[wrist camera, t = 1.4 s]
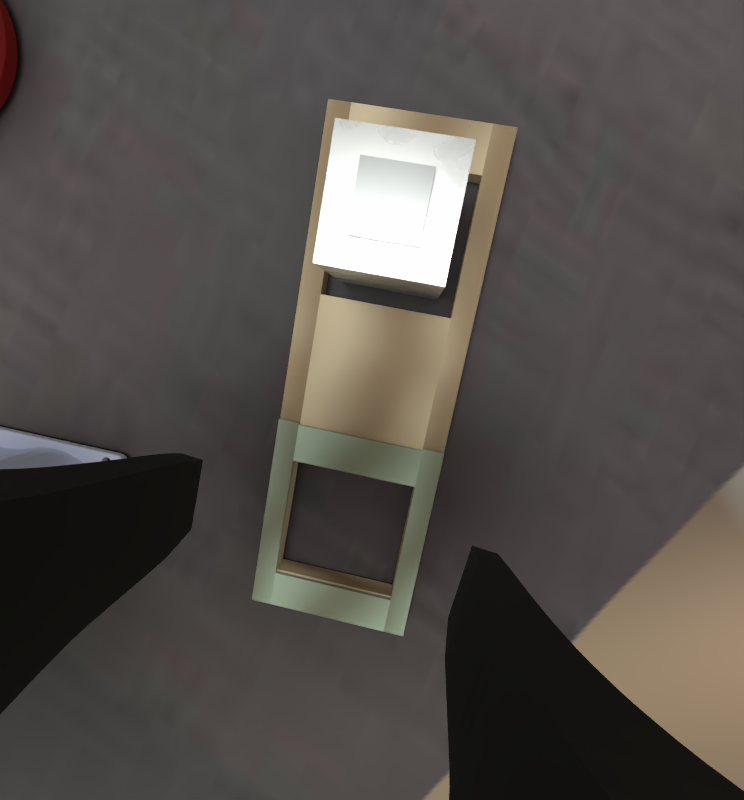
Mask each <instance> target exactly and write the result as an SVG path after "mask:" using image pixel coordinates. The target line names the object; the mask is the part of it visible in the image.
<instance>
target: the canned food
mask: <svg viewBox="0 0 744 800" xmlns="http://www.w3.org/2000/svg"><path fill="white" fill-rule="evenodd" d="M17 60H18V55H17V40H16V35H15V31H14V26H13V23H12V21H11V18H10V15H9V13H8V10H7V8H6V7H5V5H4V3H3V2H2V0H0V109H1V107H2V106H3V105H4V103H5V102H6V100H7V98H8V96H9V94H10V92H11V89H12V86H13V83H14V79H15V76H16V69H17Z"/></svg>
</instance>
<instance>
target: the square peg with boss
mask: <svg viewBox="0 0 744 800" xmlns="http://www.w3.org/2000/svg"><path fill="white" fill-rule="evenodd" d="M475 143H476V139H470V138H463V137H457V136H450V135H444V134H437V133H431V132H424V131H418V130H411V129H405V128H398V127H392V126H385V125H379V124H372V123H366V122H359V121H353V120H346V119H340V118H335V121H334V128H333V134H332V141H331V147H330V154H329V160H328V167H327V173H326V180H325V186H324V193H323V199H322V206H321V212H320V219H319V225H318V232H317V238H316V245H315V251H314V258H313V264H315V265H316V266H318V267H320V268H321V269H323V270H324V271H326V272H327V273H329V274H330V275H332V276H333V277H335V278H337V279H338V280H340V281H341V282H343V283H346V284H352V285H357V286H363V287H368V288H374V289H379V290H385V291H390V292H395V293H401V294H406V295H412V296H417V297H423V298H428V299H434V300H437V299H438V298H439V296H440V294H441V293H442V291H443V289H444V288H445V285H446V280H447V275H448V271H449V266H450V261H451V256H452V252H453V247H454V242H455V237H456V233H457V228H458V223H459V218H460V214H461V209H462V204H463V199H464V195H465V190H466V185H467V180H468V176H469V171H470V166H471V162H472V157H473V152H474V147H475Z"/></svg>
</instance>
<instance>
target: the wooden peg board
mask: <svg viewBox="0 0 744 800" xmlns="http://www.w3.org/2000/svg"><path fill="white" fill-rule="evenodd" d="M335 118H340V119H346V120H353V121H359V122H366V123H372V124H379V125H385V126H392V127H398V128H405V129H411V130H418V131H424V132H431V133H437V134H444V135H450V136H457V137H463V138H470V139H476V143H475V147H474V152H473V157H472V162H471V166H470V171H469V176H468V180H467V182H472V183H478V189H477V194H476V198H475V203H474V207H473V212H472V217H471V221H470V226H469V231H468V235H467V240H466V245H465V249H464V254H463V258H462V263H461V268H460V272H459V277H458V282H457V286H456V291H455V295H454V300H453V305H452V309H451V314H450V318H446V317H441V316H435V315H430V314H425V313H419V312H414V311H408V310H403V309H398V308H392V307H387V306H382V305H376V304H371V303H365V302H360V301H355V300H349V299H344V298H339V297H333V296H328V295H326V289H327V283H328V277H329V273H327V272H326V271H324V270H323V269H321V268H320V267H318V266H316V265H315V264H313V258H314V251H315V245H316V238H317V232H318V225H319V219H320V212H321V206H322V199H323V193H324V186H325V180H326V173H327V167H328V160H329V154H330V147H331V141H332V134H333V128H334V121H335ZM517 128H518V127H511V126H505V125H498V124H492V123H485V122H478V121H472V120H465V119H458V118H452V117H445V116H439V115H432V114H425V113H419V112H412V111H405V110H399V109H392V108H385V107H379V106H372V105H366V104H359V103H352V102H346V101H339V100H332V99H328V104H327V111H326V117H325V124H324V131H323V137H322V144H321V150H320V157H319V164H318V170H317V177H316V184H315V190H314V197H313V204H312V210H311V217H310V224H309V230H308V237H307V244H306V250H305V257H304V264H303V270H302V277H301V283H300V290H299V297H298V303H297V310H296V317H295V323H294V330H293V337H292V343H291V350H290V357H289V363H288V370H287V377H286V383H285V390H284V396H283V403H282V410H281V416H280V419H279V422H278V428H277V435H276V442H275V448H274V455H273V462H272V468H271V475H270V482H269V488H268V495H267V502H266V508H265V515H264V522H263V528H262V535H261V542H260V548H259V555H258V562H257V568H256V575H255V582H254V589H253V595H252V600H256V601H260V602H264V603H268V604H273V605H277V606H281V607H285V608H289V609H293V610H297V611H301V612H305V613H309V614H314V615H318V616H322V617H326V618H330V619H334V620H338V621H342V622H346V623H350V624H355V625H359V626H363V627H367V628H371V629H375V630H379V631H383V632H387V633H391V634H396V635H400V636H403V634H404V629H405V625H406V620H407V616H408V612H409V607H410V603H411V598H412V594H413V590H414V585H415V581H416V576H417V572H418V568H419V563H420V559H421V554H422V550H423V545H424V541H425V537H426V532H427V528H428V523H429V519H430V515H431V510H432V506H433V501H434V497H435V493H436V488H437V484H438V479H439V475H440V470H441V466H442V462H443V457H444V450H445V446H446V442H447V437H448V433H449V428H450V424H451V419H452V415H453V411H454V406H455V402H456V397H457V393H458V389H459V384H460V380H461V375H462V371H463V366H464V362H465V358H466V353H467V349H468V344H469V340H470V336H471V331H472V327H473V322H474V318H475V313H476V309H477V305H478V300H479V296H480V291H481V287H482V283H483V278H484V274H485V269H486V265H487V260H488V256H489V252H490V247H491V243H492V238H493V234H494V229H495V225H496V221H497V216H498V212H499V207H500V203H501V199H502V194H503V190H504V185H505V181H506V176H507V172H508V168H509V163H510V159H511V154H512V150H513V146H514V141H515V137H516V132H517ZM298 462H302V463H306V464H311V465H316V466H320V467H325V468H329V469H334V470H339V471H343V472H348V473H352V474H357V475H362V476H366V477H371V478H375V479H380V480H385V481H389V482H394V483H398V484H403V485H408V486H412V487H413V490H412V495H411V499H410V504H409V509H408V513H407V518H406V523H405V527H404V532H403V536H402V541H401V546H400V550H399V555H398V560H397V564H396V569H395V574H394V578H393V583H392V584H388V583H384V582H380V581H376V580H371V579H367V578H363V577H359V576H354V575H350V574H346V573H342V572H337V571H333V570H329V569H325V568H320V567H316V566H312V565H308V564H303V563H299V562H295V561H291V560H286V559H283V555H284V549H285V543H286V536H287V530H288V524H289V518H290V512H291V505H292V499H293V493H294V487H295V481H296V475H297V468H298Z"/></svg>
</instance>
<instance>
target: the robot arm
mask: <svg viewBox="0 0 744 800" xmlns="http://www.w3.org/2000/svg"><path fill="white" fill-rule="evenodd" d="M107 458H109V459H110V460H107ZM202 462H203V460H201V459H198V458H195V457H191V456H188V455H185V454H182V453H171V454H158V455H148V456H140V457H132V458H127V457H126V456H125V455H124V454H121V453H117V452H113V451H108V450H104V449H99V448H95V447H90V446H86V445H81V444H77V443H72V442H68V441H64V440H59V439H55V438H50V437H46V436H41V435H37V434H32V433H28V432H23V431H19V430H14V429H10V428H5V427H1V426H0V714H1V713H2V712H3V711H4V710H5V709H6V708H7V706H8V705H9V704H10V703H11V702H12V701H13V700H14V699H15V698H16V697H17V696H18V695H19V694H20V693H21V691H22V690H23V689H24V688H25V687H26V686H27V685H28V684H29V683H30V682H31V681H32V680H33V679H34V678H35V677H36V676H37V675H38V674H39V673H40V671H41V670H42V669H43V668H44V667H45V666H46V665H47V664H48V663H49V662H50V661H51V660H52V659H53V658H54V657H55V656H56V655H57V654H58V653H59V652H60V651H61V650H62V649H63V648H64V647H65V646H66V645H67V644H68V643H69V642H70V641H71V640H72V639H73V638H74V637H75V636H76V635H77V634H79V633H80V632H81V631H82V630H83V629H84V628H85V627H86V626H87V625H88V624H89V623H91V622H92V621H93V620H94V619H95V618H96V617H98V616H99V615H100V614H101V613H102V612H104V611H105V610H106V609H107V608H108V607H109V606H111V605H112V604H113V603H114V602H115V601H116V600H118V599H119V598H120V597H121V596H122V595H123V594H125V593H126V592H127V591H128V590H129V589H131V588H132V587H133V586H134V585H135V584H136V583H138V582H139V581H140V580H141V579H142V578H143V577H145V576H146V575H147V574H148V573H149V572H150V571H151V570H153V569H154V568H155V567H156V566H157V565H158V564H159V563H161V562H162V561H163V560H164V559H165V558H166V557H167V556H168V555H169V554H170V553H171V551H172V550H173V549H174V548H175V547H176V546H177V545H178V544H179V543H180V541H181V540H182V539H183V538H184V537H185V536H186V534H187V533H188V532H189V531H190V530H191V527H192V521H193V515H194V509H195V503H196V498H197V492H198V486H199V480H200V474H201V468H202ZM445 670H446V696H447V718H448V741H449V768H450V794H449V800H744V791H743V790H741V789H740V788H738V787H737V786H736V785H735V784H733V783H732V782H731V781H729V780H728V779H727V778H725V777H724V776H722V775H721V774H720V773H719V772H717V771H716V770H714V769H713V768H712V767H710V766H709V765H707V764H706V763H705V762H704V761H702V760H701V759H700V758H699V757H697V756H696V755H695V754H693V753H692V752H691V751H690V750H689V749H687V748H686V747H685V746H683V745H682V744H681V743H680V742H678V741H677V740H676V739H675V738H673V737H672V736H671V735H670V734H669V733H667V732H666V731H665V730H664V729H663V728H662V727H660V726H659V725H658V724H657V723H656V722H655V721H653V720H652V719H651V718H650V717H649V716H647V715H646V714H645V713H644V712H643V711H642V710H640V709H639V708H638V707H637V706H636V705H635V704H633V703H632V702H631V701H630V700H629V699H628V698H627V697H626V696H624V695H623V694H622V693H621V692H620V691H619V690H618V689H617V688H616V687H615V686H614V685H613V684H612V683H611V682H610V681H609V680H607V679H606V678H605V677H604V676H603V675H602V674H601V673H600V672H599V671H598V670H597V669H596V668H595V667H594V666H593V665H592V664H591V663H590V662H589V661H588V660H587V659H586V658H585V657H584V656H583V655H582V654H581V653H580V652H579V651H578V650H577V649H576V648H575V647H574V645H573V644H572V643H571V642H570V641H569V640H568V639H567V638H566V636H565V635H564V634H563V633H562V632H561V631H560V630H559V629H558V628H557V626H556V625H555V624H554V623H553V622H552V621H551V619H550V618H549V617H548V616H547V615H546V614H545V612H544V611H543V610H542V609H541V608H540V606H539V605H538V604H537V603H536V601H535V600H534V599H533V598H532V596H531V595H530V594H529V593H528V591H527V590H526V589H525V588H524V586H523V585H522V584H521V582H520V581H519V580H518V578H517V577H516V576H515V575H514V573H513V572H512V571H511V569H510V568H509V567H508V566H507V564H506V563H505V562H504V561H503V560H502V558H501V557H500V556H499V555H498V554H496V553H493V552H490V551H487V550H484V549H481V548H477V547H474V546H472V548H471V551H470V554H469V557H468V560H467V563H466V566H465V569H464V572H463V575H462V578H461V581H460V584H459V587H458V590H457V593H456V596H455V599H454V602H453V605H452V608H451V611H450V614H449V617H448V627H447V638H446V652H445Z"/></svg>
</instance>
